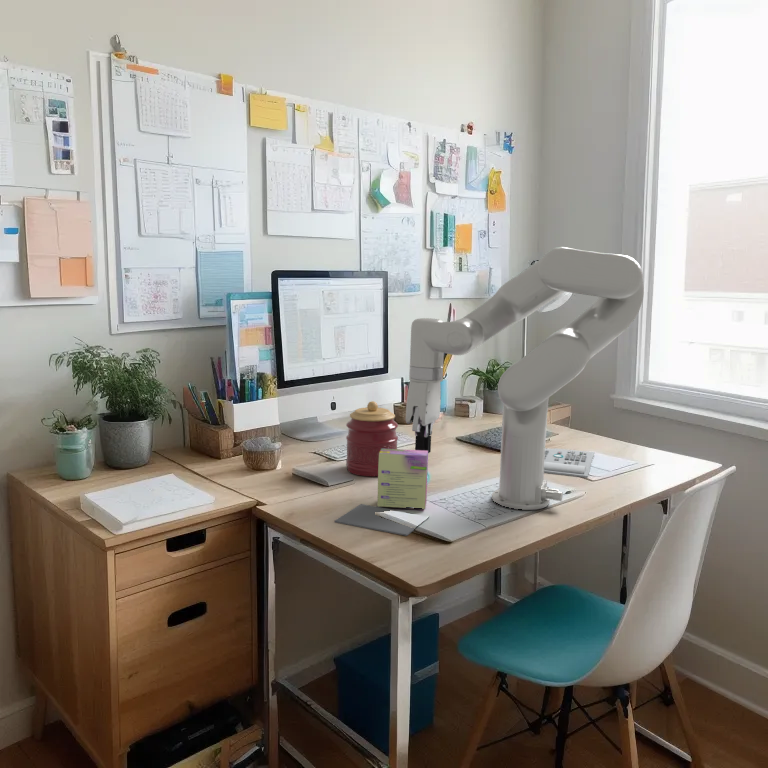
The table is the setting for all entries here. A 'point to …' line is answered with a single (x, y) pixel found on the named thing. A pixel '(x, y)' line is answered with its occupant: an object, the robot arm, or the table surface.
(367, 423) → the canister
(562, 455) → the office telephone
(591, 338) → the robot arm
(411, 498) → the box
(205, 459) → the table surface
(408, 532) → the mat
